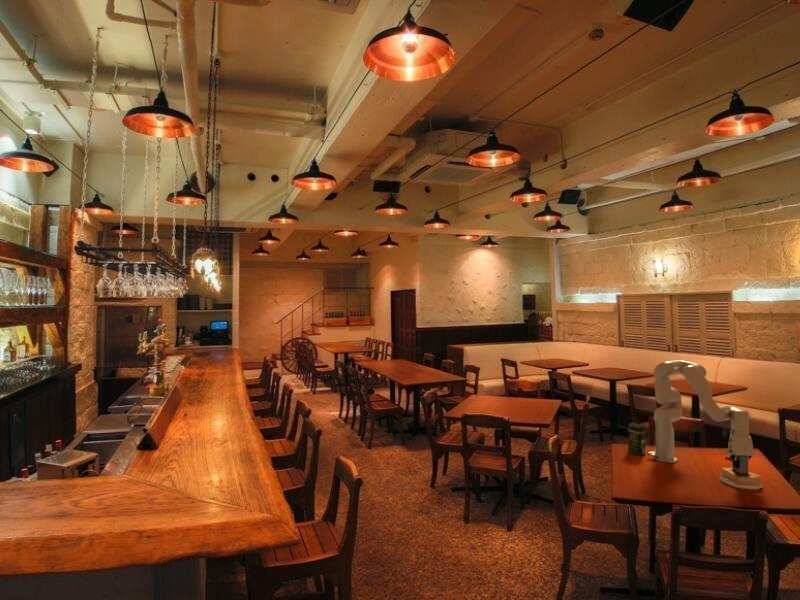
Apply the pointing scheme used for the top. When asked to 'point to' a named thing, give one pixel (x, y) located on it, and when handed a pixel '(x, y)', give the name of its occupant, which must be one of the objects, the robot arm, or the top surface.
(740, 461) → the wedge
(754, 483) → the beige piece
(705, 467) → the top surface
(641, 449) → the coffee jar
